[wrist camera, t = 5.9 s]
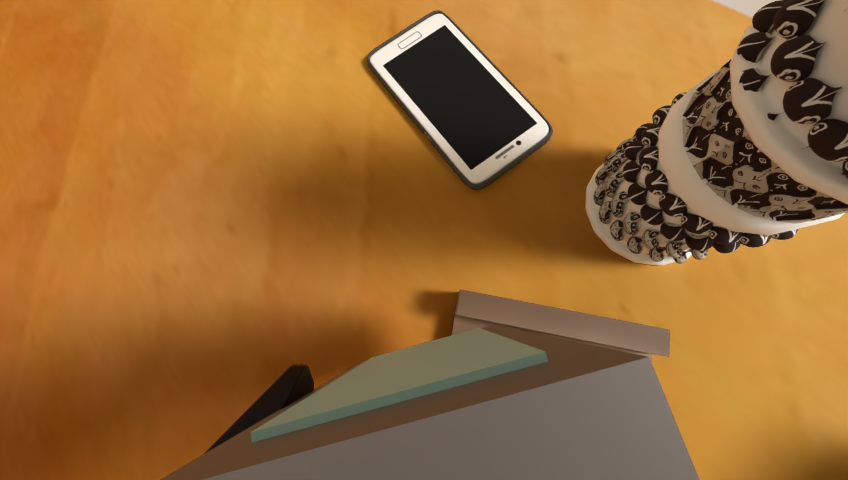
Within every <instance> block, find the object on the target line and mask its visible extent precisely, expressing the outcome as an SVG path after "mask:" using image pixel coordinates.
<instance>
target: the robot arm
mask: <svg viewBox="0 0 848 480" xmlns="http://www.w3.org/2000/svg"><path fill="white" fill-rule="evenodd" d="M313 390H314V382H313V379H312V376H311V373H310V370H309V367H308V366H307V365H305V364H294V365H292V366H290V367H289V368H288V369H287V370H286V371H285V372H284V373H283V374H282V375H281V376H280V377H279V378H278V379H277V380H276V381H275V382H274V383H273V384H272V385H271V386H270V387H269V388H268V389H267V390H266V391H265V392H264V393H263V394H262V395H261V396H260V397H259V399H258V400H257V401H256V402H255V403H254V404H253V405H252V406H251V407H250V408H249V409H248V410H247V411H246V412H245V413H244V414H243V415H242V416H241V417H240V418H239V419H238V420H237V421H236V422H235V423H234V424H233V425H232V426H231V427H230V428H229V429H228V430H227V431H226V432H225V433H224V434H223V435H222V436H221V437H220V438H219V439H218V440H217V441H216V442H215V443H214V444H213V445H212V446H211V447H210V448H209V449H208V450H207V451H206V452H205V453H207V452H208V451H210V450H212V449H213V448H215V447H217V446H219V445H220V444H222V443H224V442H225V441H227V440H229V439H231V438H232V437H234V436H236V435H237V434H239V433H241V432H242V431H244V430H246V429H248V428H249V427H251V426H253V425H254V424H256V423H258V422H260V421H261V420H263V419H265V418H266V417H268V416H270V415H271V414H273V413H275V412H277V411H278V410H280V409H282V408H284V407H286V406H288V405H290V404H291V403H293V402H295V401H296V400H298V399H300V398H301V397H303V396H305V395H306V394H308V393H310V392H312V391H313ZM205 453H204V454H205Z"/></svg>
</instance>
